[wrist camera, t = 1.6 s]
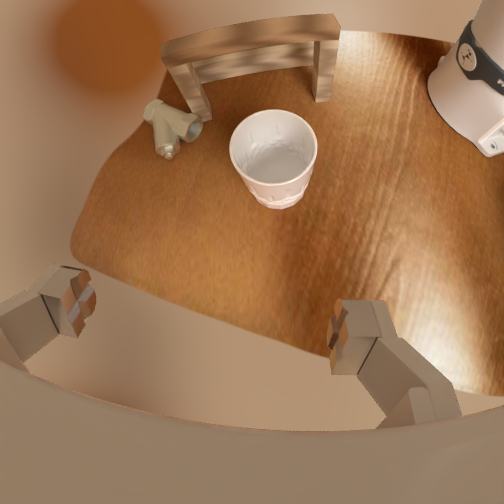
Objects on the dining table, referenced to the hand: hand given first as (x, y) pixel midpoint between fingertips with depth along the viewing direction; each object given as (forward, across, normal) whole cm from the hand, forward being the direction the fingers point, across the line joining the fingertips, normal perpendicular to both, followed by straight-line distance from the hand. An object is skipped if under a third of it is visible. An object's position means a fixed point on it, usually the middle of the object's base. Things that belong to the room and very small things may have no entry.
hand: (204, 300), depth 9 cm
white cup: (+28, -3, +6) cm, 29 cm away
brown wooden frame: (+37, +1, -5) cm, 38 cm away
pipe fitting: (+34, +12, +2) cm, 36 cm away
